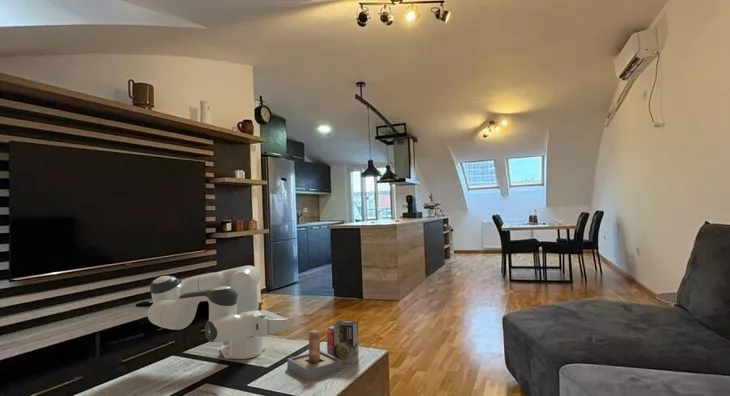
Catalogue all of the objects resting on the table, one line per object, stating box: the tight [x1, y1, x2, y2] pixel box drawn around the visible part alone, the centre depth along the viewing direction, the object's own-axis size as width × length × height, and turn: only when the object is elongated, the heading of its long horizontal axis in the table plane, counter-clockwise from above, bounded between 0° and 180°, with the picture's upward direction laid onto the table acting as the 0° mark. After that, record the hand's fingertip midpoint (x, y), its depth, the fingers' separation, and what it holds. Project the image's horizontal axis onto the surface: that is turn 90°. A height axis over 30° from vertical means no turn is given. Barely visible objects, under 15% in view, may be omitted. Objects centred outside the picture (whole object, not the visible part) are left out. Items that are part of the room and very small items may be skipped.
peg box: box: [286, 349, 343, 382], centre depth 164 cm, size 16×16×4 cm
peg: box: [308, 329, 321, 364], centre depth 165 cm, size 4×4×14 cm
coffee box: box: [333, 320, 359, 365], centre depth 175 cm, size 9×6×16 cm
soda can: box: [326, 324, 334, 356], centre depth 183 cm, size 7×7×12 cm
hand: (287, 316), depth 156 cm, fingers open, 8 cm apart
